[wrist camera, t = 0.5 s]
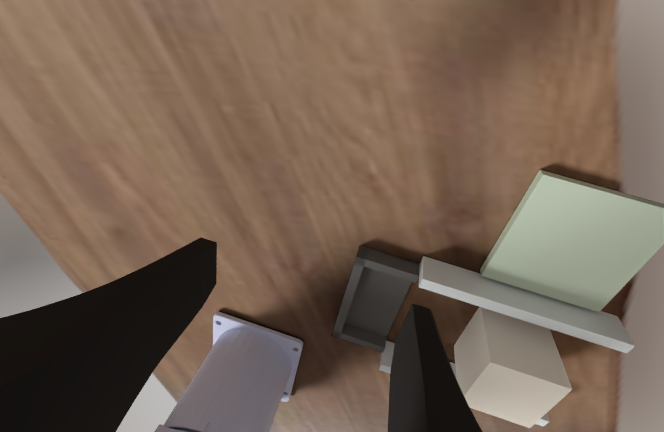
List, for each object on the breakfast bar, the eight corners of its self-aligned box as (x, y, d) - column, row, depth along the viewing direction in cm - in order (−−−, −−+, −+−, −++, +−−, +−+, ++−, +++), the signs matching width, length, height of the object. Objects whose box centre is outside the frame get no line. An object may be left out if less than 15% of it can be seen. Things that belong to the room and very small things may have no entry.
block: (514, 364, 25) (529, 428, 21) (453, 344, 25) (458, 403, 22) (548, 325, 23) (572, 389, 19) (480, 304, 23) (490, 362, 19)
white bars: (535, 397, 26) (543, 426, 24) (382, 345, 27) (378, 370, 25) (617, 316, 21) (635, 346, 19) (423, 255, 22) (422, 278, 20)
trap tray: (384, 339, 27) (382, 352, 26) (335, 323, 27) (331, 335, 26) (419, 264, 22) (419, 276, 21) (359, 245, 23) (356, 256, 22)
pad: (595, 305, 21) (599, 312, 20) (479, 269, 21) (481, 275, 21) (683, 209, 17) (690, 215, 16) (539, 169, 18) (543, 174, 17)
